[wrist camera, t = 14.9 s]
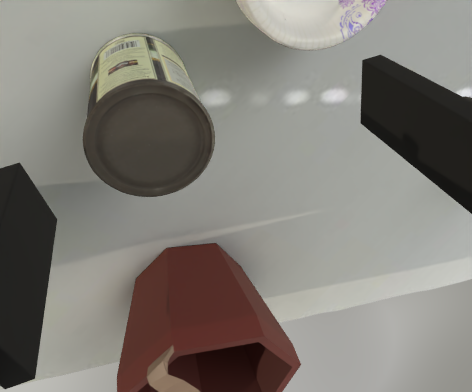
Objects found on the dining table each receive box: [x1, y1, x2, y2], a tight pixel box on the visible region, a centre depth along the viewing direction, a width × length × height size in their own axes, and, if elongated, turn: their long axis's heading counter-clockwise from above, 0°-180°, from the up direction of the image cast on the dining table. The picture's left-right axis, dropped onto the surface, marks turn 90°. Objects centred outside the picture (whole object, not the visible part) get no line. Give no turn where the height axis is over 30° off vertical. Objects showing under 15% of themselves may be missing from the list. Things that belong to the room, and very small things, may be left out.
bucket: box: [117, 243, 301, 392], centre depth 52 cm, size 24×22×25 cm
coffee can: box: [83, 33, 215, 197], centre depth 36 cm, size 10×10×14 cm
